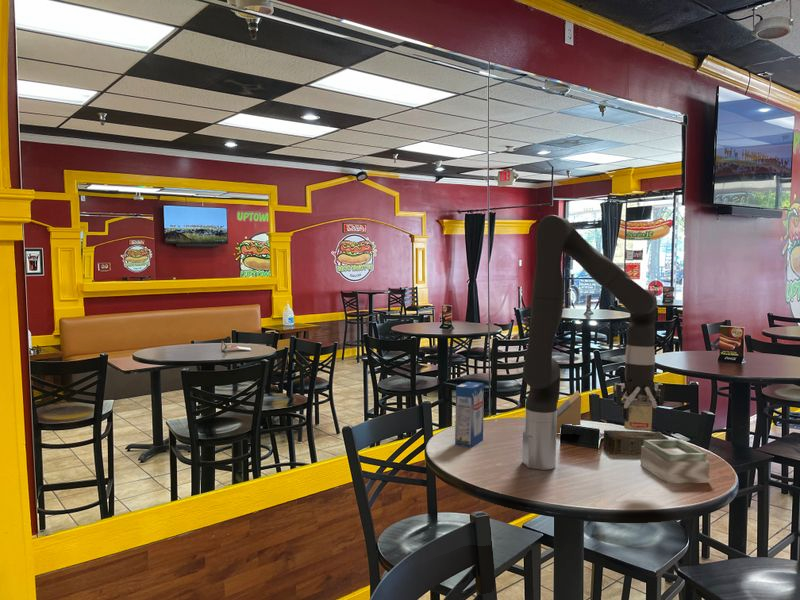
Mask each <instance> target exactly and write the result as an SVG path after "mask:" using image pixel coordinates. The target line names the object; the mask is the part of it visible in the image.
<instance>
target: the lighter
mask: <svg viewBox="0 0 800 600" xmlns="http://www.w3.org/2000/svg"><path fill="white" fill-rule="evenodd" d="M643 398H645V399H643ZM649 398H650V396H649V395H647V396H646V395H638V399H635V398H634V400H633V401H632V402H631V403H630V404H629V406H628V407H627V408H628V409H629V410H628V422H625V421H624V428H623V429H625V430H627V431H629V430H630V431H639V432H652V431H653V427H652V425H653V424H652V423H653V421H652V401H651V402H650V401H649Z"/></svg>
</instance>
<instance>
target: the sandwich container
mask: <svg viewBox="0 0 800 600" xmlns="http://www.w3.org/2000/svg"><path fill="white" fill-rule="evenodd" d="M581 411H582V395H581V394H580V392H579V390H576V391H575V392H574V393H573V394H572V395H570V397H568V399H566V400H565V401H564V402H563V403H561V405H560V406H557V426H556V433H560V428H561V425H562V424H572V425H580V426H581V422H582V421H581V419H582V418H581V415H582V414H581Z"/></svg>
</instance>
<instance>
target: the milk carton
mask: <svg viewBox="0 0 800 600" xmlns="http://www.w3.org/2000/svg"><path fill="white" fill-rule="evenodd" d="M484 392H485V383H483V382H476V381H475V382H474V381H465V382H463V383H460V384H459V385H456V386H455V426H454V427H455V429H454V431H455V432H454V433H455V434H454V435H455V436H454V439H455V441H454V445H456V446H460V447H461V446H462V447H468V448H474V447H475V446H476V445H478V444H479V443H481V442H482V441H484V413H485V412H484V406H485V405H484V404H485V401H484V400H485V399H484V398H485V393H484Z"/></svg>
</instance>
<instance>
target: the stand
mask: <svg viewBox="0 0 800 600" xmlns="http://www.w3.org/2000/svg"><path fill="white" fill-rule="evenodd" d="M707 455H708V454H707V453H706V452H703V451H701V449H698V448H696V447H694V446H692V445H691V444H688V443H686V442H684V441H682V440H681V439H675V438H674V439H669V440H644V446H641V455H640V466H641V467H643V468H644V469H645V470H646V471H649V472H650V473H651V474H653V475H654V476H656V477H657V478H659V479H661V481H663V482H665V483H666V484H700V483H701V484H705V483H707V484H709V481H710V480H709V479H710V461H709V460H707V458H708V456H707Z"/></svg>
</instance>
